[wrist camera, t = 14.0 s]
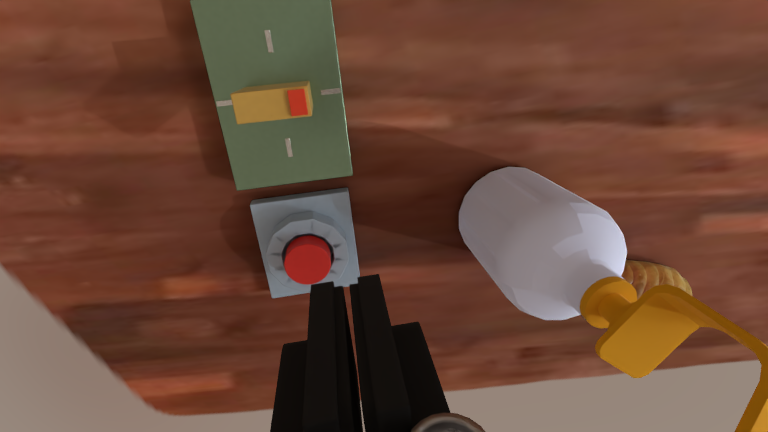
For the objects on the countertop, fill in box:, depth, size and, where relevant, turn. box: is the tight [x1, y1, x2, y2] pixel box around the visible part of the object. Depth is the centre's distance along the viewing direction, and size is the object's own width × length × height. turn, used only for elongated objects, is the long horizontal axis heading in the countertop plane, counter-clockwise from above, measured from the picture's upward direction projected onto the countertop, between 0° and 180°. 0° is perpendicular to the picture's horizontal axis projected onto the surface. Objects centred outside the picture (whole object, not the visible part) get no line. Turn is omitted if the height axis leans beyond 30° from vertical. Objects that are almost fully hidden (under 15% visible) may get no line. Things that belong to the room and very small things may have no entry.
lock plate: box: [190, 0, 353, 191], centre depth 29 cm, size 13×9×2 cm
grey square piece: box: [250, 187, 360, 298], centre depth 34 cm, size 9×8×3 cm
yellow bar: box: [230, 81, 313, 124], centre depth 26 cm, size 4×2×5 cm, turn 95°
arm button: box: [284, 235, 331, 285], centre depth 32 cm, size 4×4×2 cm
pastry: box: [621, 260, 692, 300], centre depth 41 cm, size 9×7×4 cm
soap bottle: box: [459, 167, 768, 432], centre depth 26 cm, size 9×9×25 cm
